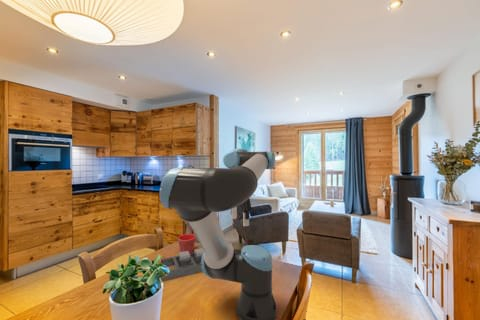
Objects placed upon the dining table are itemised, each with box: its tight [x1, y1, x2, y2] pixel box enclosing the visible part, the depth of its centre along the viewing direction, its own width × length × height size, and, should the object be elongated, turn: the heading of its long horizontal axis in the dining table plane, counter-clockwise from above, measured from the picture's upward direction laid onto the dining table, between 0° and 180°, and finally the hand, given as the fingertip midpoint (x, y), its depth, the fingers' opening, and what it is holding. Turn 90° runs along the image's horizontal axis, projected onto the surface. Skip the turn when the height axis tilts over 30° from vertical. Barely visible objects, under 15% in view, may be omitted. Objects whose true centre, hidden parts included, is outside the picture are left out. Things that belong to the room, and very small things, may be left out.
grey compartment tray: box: [160, 252, 203, 282], centre depth 111 cm, size 15×27×4 cm, turn 116°
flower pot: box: [177, 233, 197, 254], centre depth 131 cm, size 11×11×10 cm
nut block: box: [177, 251, 190, 268], centre depth 111 cm, size 5×5×8 cm
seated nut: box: [193, 247, 204, 264], centre depth 115 cm, size 5×5×8 cm
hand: (239, 222), depth 105 cm, fingers open, 13 cm apart
